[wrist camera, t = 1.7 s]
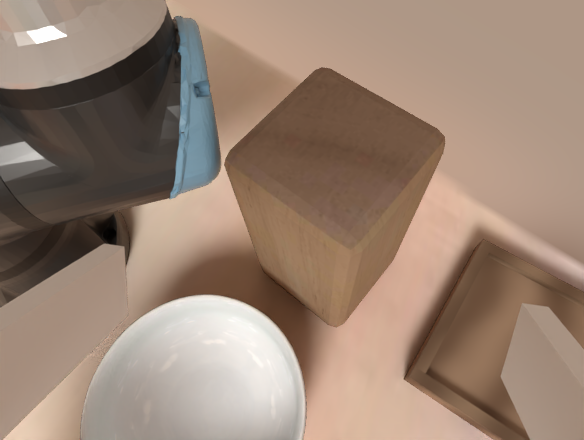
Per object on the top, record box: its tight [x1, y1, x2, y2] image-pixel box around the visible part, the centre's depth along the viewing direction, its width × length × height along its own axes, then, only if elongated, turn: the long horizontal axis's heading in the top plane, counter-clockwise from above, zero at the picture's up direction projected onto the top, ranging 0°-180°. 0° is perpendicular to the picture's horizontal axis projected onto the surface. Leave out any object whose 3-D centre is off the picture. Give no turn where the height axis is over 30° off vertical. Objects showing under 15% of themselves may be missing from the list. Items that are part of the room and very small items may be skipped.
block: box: [224, 68, 445, 327], centre depth 33 cm, size 10×10×20 cm
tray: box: [404, 239, 584, 440], centre depth 36 cm, size 15×15×2 cm
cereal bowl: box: [80, 294, 307, 440], centre depth 33 cm, size 17×17×7 cm
